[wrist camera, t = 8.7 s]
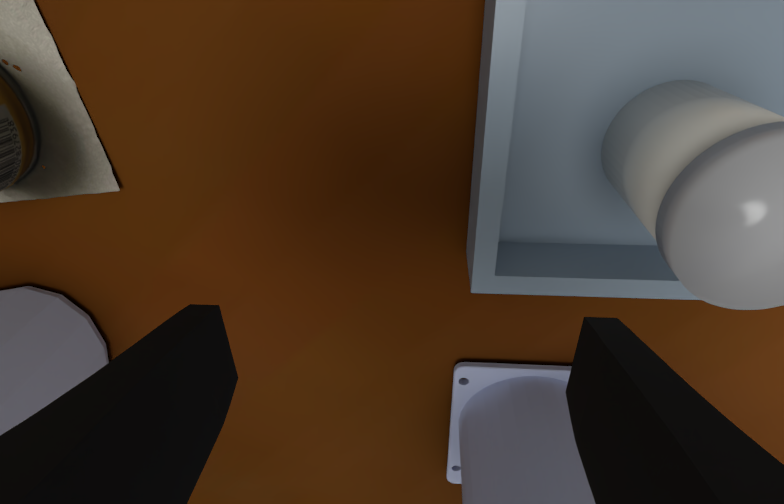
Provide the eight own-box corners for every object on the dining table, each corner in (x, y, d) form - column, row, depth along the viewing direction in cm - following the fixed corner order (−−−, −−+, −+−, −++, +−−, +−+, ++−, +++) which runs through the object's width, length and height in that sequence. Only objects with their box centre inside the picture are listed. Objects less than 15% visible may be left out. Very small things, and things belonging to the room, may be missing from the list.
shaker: (714, 205, 18) (838, 312, 12) (585, 203, 18) (649, 306, 13) (761, 74, 15) (942, 134, 10) (611, 75, 16) (704, 133, 10)
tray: (802, 259, 19) (857, 304, 17) (466, 251, 20) (471, 292, 18) (1086, -297, 11) (1279, -373, 9) (505, -265, 12) (524, -325, 10)
